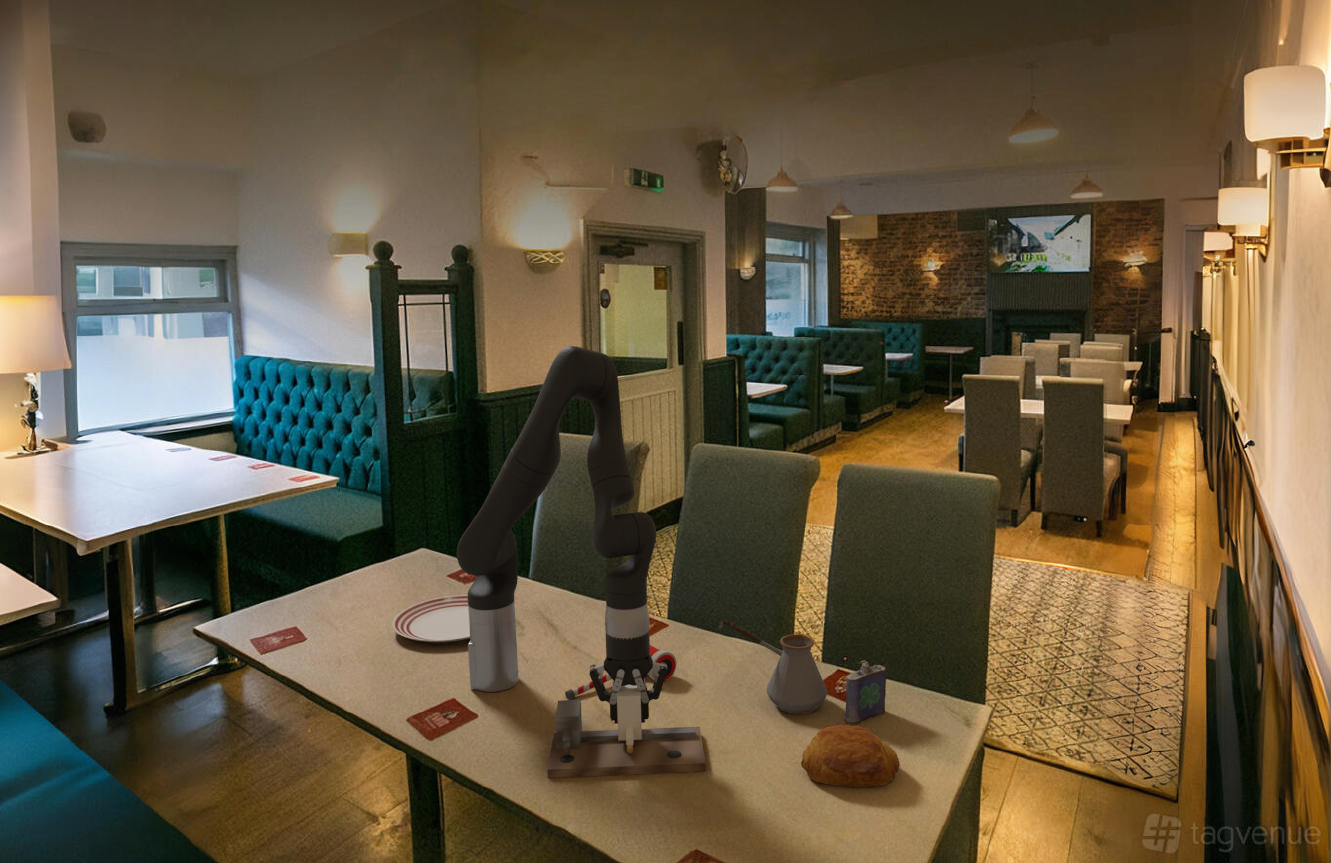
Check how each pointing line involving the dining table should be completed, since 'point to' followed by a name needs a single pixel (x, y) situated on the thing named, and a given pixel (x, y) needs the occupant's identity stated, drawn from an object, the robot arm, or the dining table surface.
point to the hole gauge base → (620, 749)
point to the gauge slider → (629, 715)
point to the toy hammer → (657, 657)
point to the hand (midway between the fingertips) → (629, 720)
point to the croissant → (849, 758)
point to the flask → (865, 693)
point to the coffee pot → (792, 673)
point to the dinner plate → (435, 620)
